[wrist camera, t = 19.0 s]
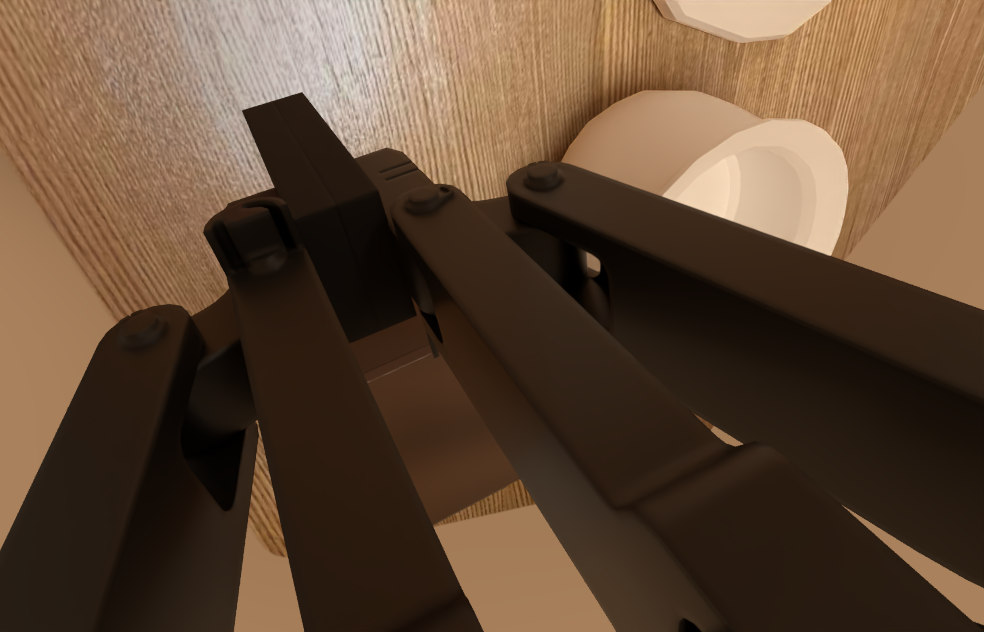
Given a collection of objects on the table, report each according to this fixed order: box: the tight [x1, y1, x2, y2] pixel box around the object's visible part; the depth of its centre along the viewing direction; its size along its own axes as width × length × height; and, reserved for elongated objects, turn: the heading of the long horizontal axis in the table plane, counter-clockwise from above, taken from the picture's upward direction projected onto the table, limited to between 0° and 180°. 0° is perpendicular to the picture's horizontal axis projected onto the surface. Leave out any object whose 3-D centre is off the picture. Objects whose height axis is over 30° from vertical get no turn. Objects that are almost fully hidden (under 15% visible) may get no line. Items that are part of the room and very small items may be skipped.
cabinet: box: [350, 298, 520, 525], centre depth 42 cm, size 15×13×10 cm
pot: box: [561, 90, 848, 272], centre depth 42 cm, size 22×17×12 cm
